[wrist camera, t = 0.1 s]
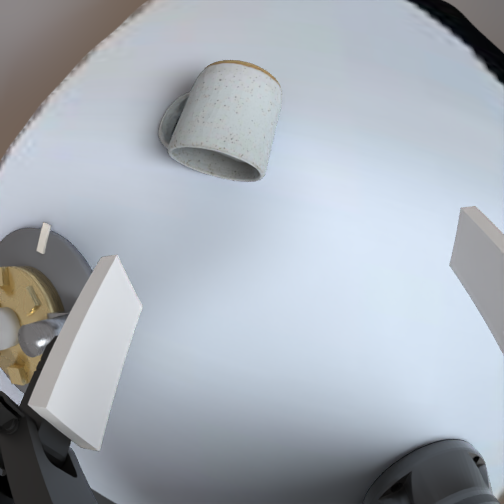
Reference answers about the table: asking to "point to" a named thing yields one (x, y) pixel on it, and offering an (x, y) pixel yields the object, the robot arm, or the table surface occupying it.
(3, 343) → the base
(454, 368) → the table surface
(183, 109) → the ceramic mug
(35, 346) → the gold crank wheel
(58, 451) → the robot arm
